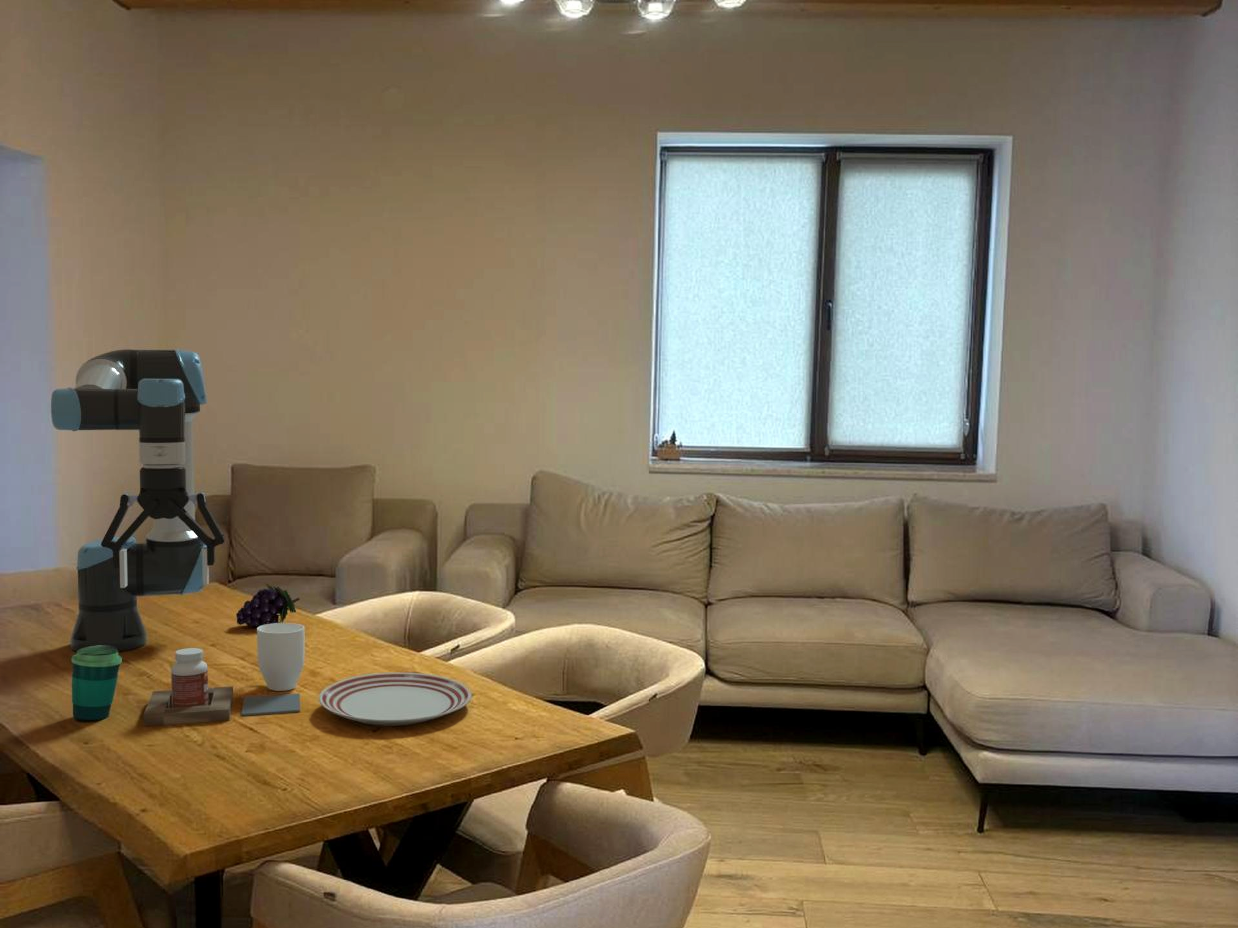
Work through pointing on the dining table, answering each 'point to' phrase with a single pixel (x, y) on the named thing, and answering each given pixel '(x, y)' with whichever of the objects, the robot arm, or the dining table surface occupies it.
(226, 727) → the dining table surface
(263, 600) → the fruit
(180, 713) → the collar
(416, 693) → the dinner plate
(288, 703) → the coaster
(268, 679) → the mug
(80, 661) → the cup
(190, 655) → the pill bottle
